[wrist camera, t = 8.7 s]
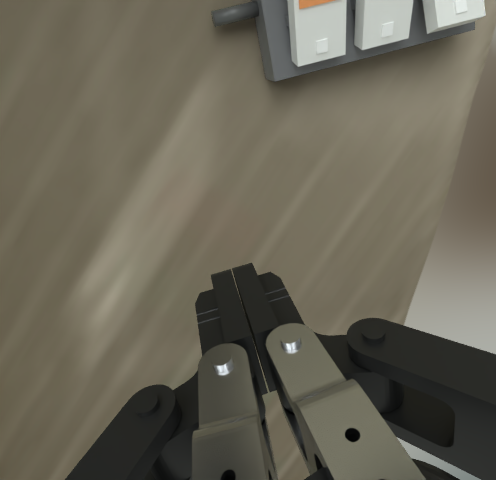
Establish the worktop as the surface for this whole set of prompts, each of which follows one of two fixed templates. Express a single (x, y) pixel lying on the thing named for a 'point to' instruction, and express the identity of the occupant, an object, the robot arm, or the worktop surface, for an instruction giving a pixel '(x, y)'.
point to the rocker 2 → (451, 13)
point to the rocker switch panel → (281, 66)
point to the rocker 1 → (316, 30)
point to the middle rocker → (381, 22)
